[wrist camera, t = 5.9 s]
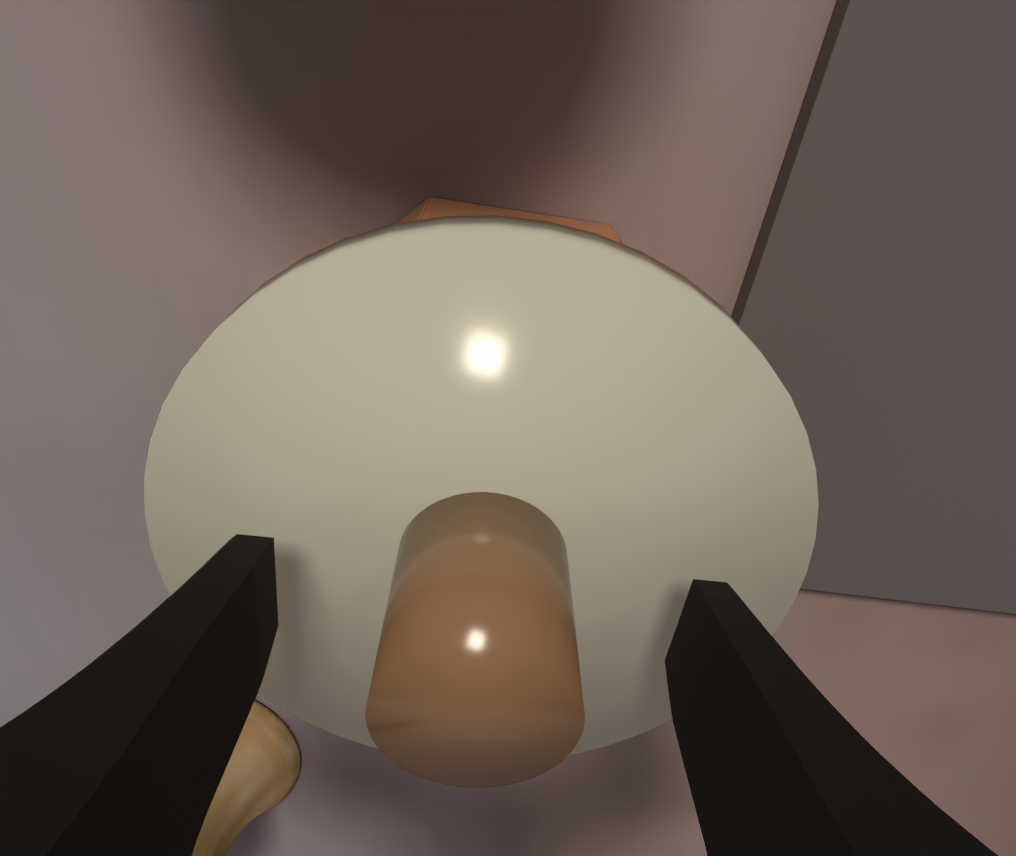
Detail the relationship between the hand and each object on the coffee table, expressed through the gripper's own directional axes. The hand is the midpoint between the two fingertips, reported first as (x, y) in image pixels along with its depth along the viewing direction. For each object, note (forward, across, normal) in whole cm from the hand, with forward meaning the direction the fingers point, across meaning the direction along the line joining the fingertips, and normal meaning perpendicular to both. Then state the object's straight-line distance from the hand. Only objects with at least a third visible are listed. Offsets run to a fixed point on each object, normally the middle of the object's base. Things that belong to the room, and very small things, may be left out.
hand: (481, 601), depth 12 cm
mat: (+7, -13, -3) cm, 15 cm away
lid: (+2, 0, 0) cm, 2 cm away
